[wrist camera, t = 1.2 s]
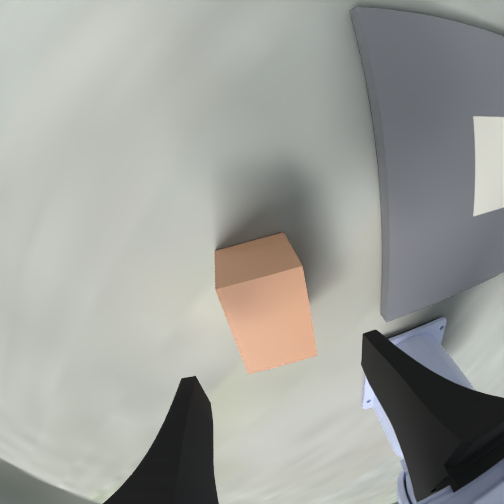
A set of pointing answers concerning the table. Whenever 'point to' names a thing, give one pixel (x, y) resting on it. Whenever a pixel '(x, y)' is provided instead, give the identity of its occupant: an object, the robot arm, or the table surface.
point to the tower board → (435, 153)
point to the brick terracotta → (265, 302)
